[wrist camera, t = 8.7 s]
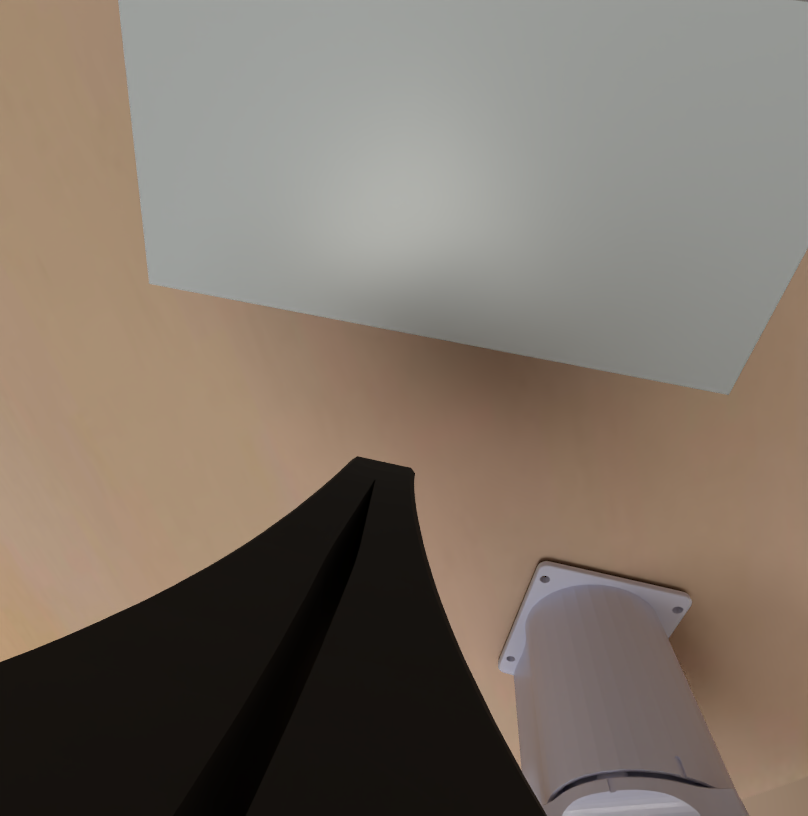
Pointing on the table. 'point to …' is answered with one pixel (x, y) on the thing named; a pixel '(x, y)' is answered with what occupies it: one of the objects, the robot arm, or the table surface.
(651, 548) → the table surface
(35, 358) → the table surface
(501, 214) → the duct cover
